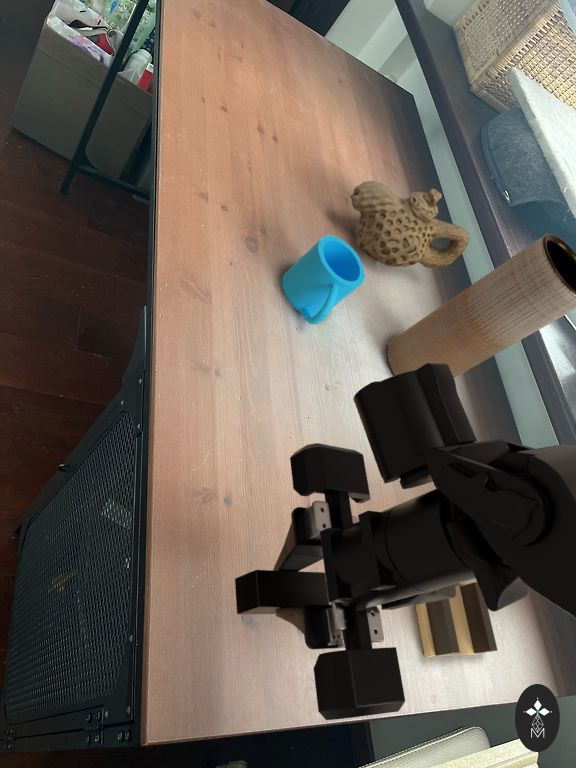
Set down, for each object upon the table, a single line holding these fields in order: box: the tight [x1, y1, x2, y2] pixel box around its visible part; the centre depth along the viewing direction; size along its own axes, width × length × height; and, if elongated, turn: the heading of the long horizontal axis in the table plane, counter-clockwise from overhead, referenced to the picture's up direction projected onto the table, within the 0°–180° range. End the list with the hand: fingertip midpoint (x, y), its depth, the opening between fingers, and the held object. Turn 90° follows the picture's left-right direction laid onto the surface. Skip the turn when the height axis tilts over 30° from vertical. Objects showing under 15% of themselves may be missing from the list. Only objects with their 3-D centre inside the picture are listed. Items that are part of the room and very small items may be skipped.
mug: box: [281, 235, 366, 325], centre depth 85 cm, size 12×8×8 cm
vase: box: [386, 233, 576, 379], centre depth 86 cm, size 10×10×28 cm
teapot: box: [349, 180, 470, 269], centre depth 100 cm, size 21×12×15 cm, turn 81°
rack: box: [414, 581, 498, 658], centre depth 75 cm, size 10×8×4 cm
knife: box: [234, 569, 332, 615], centre depth 53 cm, size 14×3×3 cm, turn 97°
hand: (278, 593), depth 51 cm, fingers closed on knife, 3 cm apart
